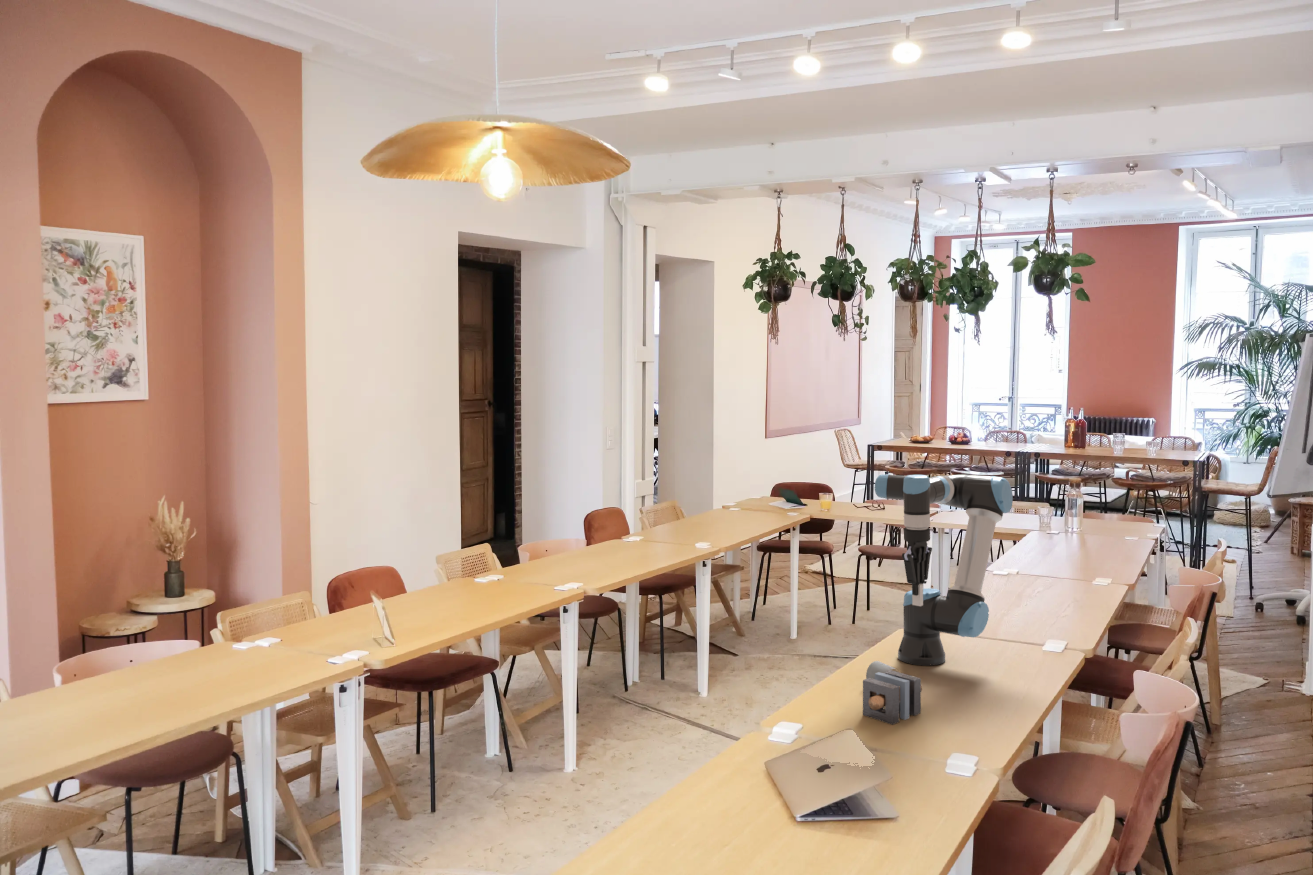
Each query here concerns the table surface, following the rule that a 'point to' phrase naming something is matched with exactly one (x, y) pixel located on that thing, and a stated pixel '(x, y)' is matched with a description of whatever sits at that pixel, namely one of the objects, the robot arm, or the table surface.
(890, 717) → the collar
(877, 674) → the aperture arch
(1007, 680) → the table surface
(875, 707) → the air tube
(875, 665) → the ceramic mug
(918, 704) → the square frame
